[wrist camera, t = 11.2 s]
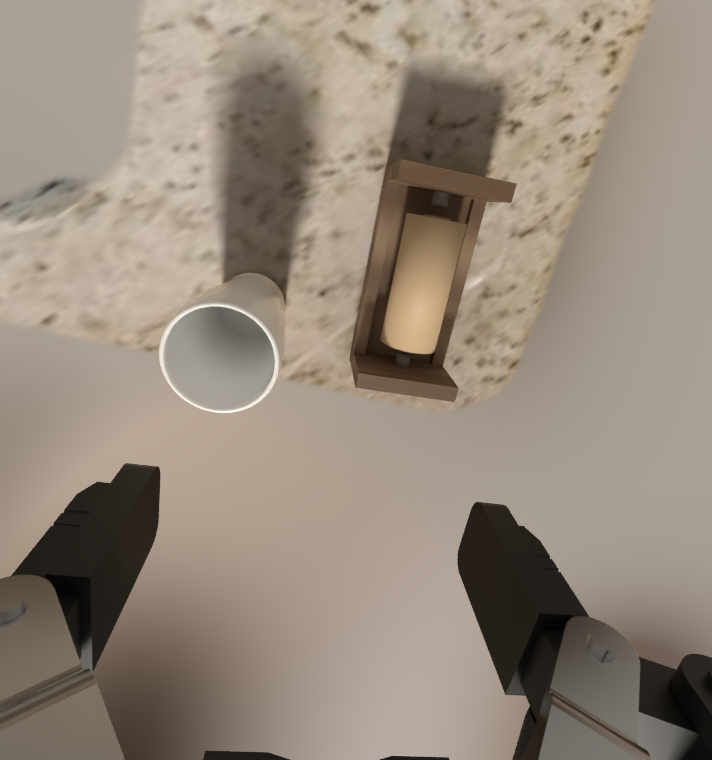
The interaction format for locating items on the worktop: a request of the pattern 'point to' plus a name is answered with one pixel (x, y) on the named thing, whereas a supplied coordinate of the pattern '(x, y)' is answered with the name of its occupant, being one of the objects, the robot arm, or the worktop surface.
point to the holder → (398, 197)
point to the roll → (422, 282)
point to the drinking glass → (226, 344)
